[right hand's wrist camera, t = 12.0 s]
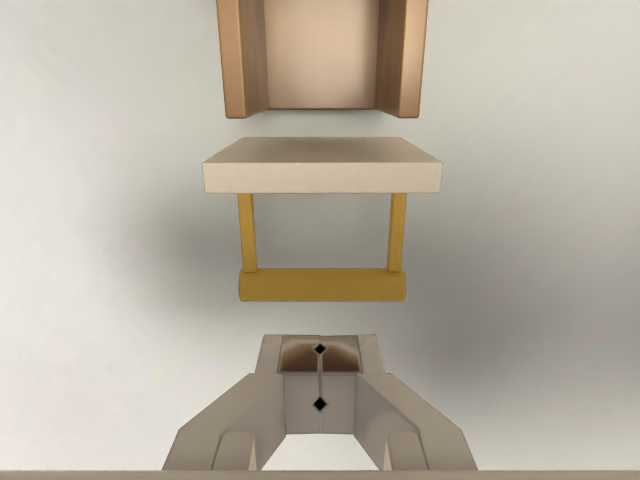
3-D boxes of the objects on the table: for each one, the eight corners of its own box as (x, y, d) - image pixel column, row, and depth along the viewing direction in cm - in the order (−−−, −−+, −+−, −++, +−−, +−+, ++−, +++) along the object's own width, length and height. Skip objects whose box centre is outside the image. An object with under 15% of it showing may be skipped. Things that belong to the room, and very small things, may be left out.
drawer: (393, 255, 25) (425, 328, 18) (250, 255, 25) (219, 328, 18) (425, -208, 17) (509, -445, 10) (217, -208, 17) (135, -443, 10)
